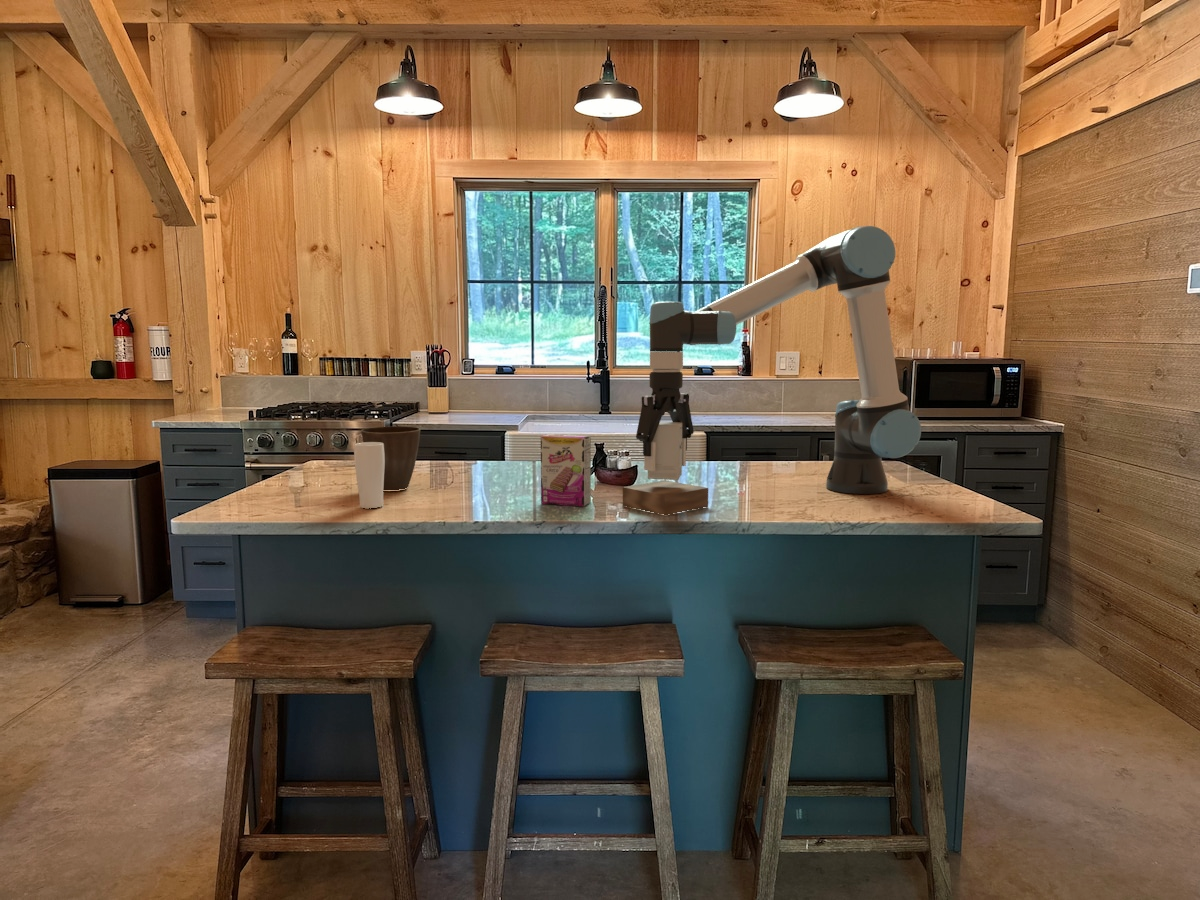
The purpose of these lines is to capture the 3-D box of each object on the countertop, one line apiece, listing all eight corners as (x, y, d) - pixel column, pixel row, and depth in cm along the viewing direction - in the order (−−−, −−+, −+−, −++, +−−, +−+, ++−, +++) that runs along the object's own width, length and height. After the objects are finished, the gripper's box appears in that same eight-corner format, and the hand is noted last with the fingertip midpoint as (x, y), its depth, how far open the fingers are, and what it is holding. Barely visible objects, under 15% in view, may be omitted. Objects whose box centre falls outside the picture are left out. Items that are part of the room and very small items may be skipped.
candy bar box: (540, 504, 186) (539, 435, 183) (548, 500, 190) (547, 433, 188) (584, 507, 182) (583, 437, 180) (591, 503, 187) (591, 435, 184)
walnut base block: (707, 509, 181) (708, 487, 181) (665, 517, 172) (665, 495, 172) (664, 500, 192) (664, 480, 191) (622, 508, 183) (622, 487, 182)
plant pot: (434, 488, 208) (432, 428, 206) (391, 497, 195) (389, 433, 193) (394, 482, 216) (392, 425, 214) (351, 491, 203) (348, 430, 201)
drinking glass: (359, 511, 179) (356, 446, 177) (354, 506, 184) (351, 443, 182) (389, 508, 182) (387, 444, 180) (383, 503, 188) (380, 441, 186)
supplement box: (679, 480, 177) (680, 424, 175) (646, 479, 178) (647, 424, 177) (682, 475, 184) (683, 421, 182) (651, 474, 185) (651, 421, 184)
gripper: (685, 369, 188) (684, 461, 191) (619, 371, 173) (619, 471, 176) (710, 370, 183) (708, 464, 186) (644, 372, 167) (643, 475, 170)
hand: (665, 467), depth 181 cm, fingers closed on supplement box, 10 cm apart
